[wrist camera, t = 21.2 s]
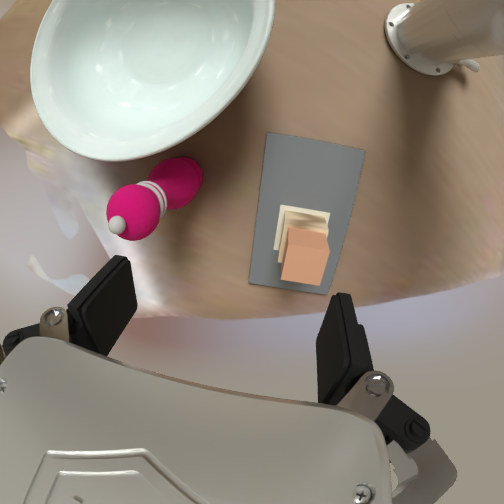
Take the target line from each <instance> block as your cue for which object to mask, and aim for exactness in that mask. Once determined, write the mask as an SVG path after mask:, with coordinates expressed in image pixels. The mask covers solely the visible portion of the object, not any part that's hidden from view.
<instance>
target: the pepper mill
mask: <svg viewBox="0 0 504 504" xmlns="http://www.w3.org/2000/svg"><path fill="white" fill-rule="evenodd" d="M202 181H203V173H202V170H201V168H200V166H199V164H198V163H197V162H196V161H194V160H193V159H191V158H188V157H179V158H170V159H166V160H164V161H162V162H160V163H159V164H158V165H156V166H155V167H154V169H153V170H152V171H151V173H150V175H149V177H148V181H142V182H139V183H137V184H129V185H126V186H123V187H121V188H120V189H118V190H117V191H116V192H115V193H114V194H113V195H112V196H111V198H110V200H109V202H108V205H107V213H106V214H107V220H108V223H109V224H108V226H109V230H110V231H111V232H112V233H114V234H117V235H118V236H119V237H121V238H123V239H126V240H130V241H136V240H141V239H143V238H145V237H147V236H148V235H150V234H151V233H152V232H153V231H154V230H155V229H156V227H157V225H158V223H159V220H160V218H161V217H162V216H163V215H164V214H165V212H166V209H177V208H181V207H183V206H185V205H186V204H188V203H189V202H191V201H192V199H193V198H194V197H195V195H196V193H197V190H198V189H199V188H200V187H201V184H202Z"/></svg>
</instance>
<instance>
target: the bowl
mask: <svg viewBox="0 0 504 504" xmlns="http://www.w3.org/2000/svg"><path fill="white" fill-rule="evenodd" d="M274 16H275V0H53V1H52V3H51V5H50V6H49V8H48V10H47V12H46V14H45V16H44V18H43V20H42V22H41V25H40V27H39V30H38V33H37V36H36V39H35V43H34V47H33V52H32V58H31V69H30V80H31V90H32V96H33V100H34V104H35V107H36V110H37V112H38V115H39V117H40V119H41V121H42V122H43V124H44V126H45V127H46V129H47V130H48V131H49V133H50V134H51V135H52V136H53V137H54V138H55V139H56V140H57V141H58V142H59V143H60V144H61V145H62V146H64V147H65V148H67V149H68V150H70V151H71V152H74V153H76V154H78V155H80V156H83V157H86V158H89V159H94V160H98V161H108V162H120V161H129V160H135V159H140V158H144V157H148V156H151V155H154V154H157V153H160V152H162V151H164V150H167V149H169V148H171V147H173V146H175V145H177V144H179V143H181V142H183V141H184V140H186V139H187V138H189V137H191V136H192V135H194V134H195V133H197V132H198V131H200V130H201V129H202V128H204V127H205V126H206V125H208V124H209V123H210V122H211V121H213V120H214V119H215V118H216V117H217V116H218V115H219V114H220V113H221V112H222V111H223V110H224V109H225V108H226V107H227V106H228V105H229V104H230V103H231V102H232V101H233V100H234V99H235V98H236V97H237V95H238V94H239V93H240V92H241V90H242V89H243V88H244V87H245V85H246V84H247V82H248V81H249V79H250V78H251V76H252V75H253V73H254V72H255V70H256V68H257V66H258V65H259V63H260V61H261V59H262V57H263V55H264V52H265V50H266V47H267V45H268V42H269V39H270V36H271V32H272V28H273V23H274Z"/></svg>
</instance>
